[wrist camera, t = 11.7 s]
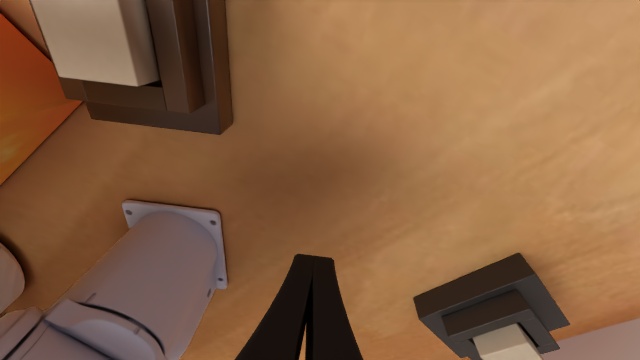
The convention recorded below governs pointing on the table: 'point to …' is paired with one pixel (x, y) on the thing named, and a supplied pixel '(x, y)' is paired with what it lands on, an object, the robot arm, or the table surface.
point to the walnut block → (171, 73)
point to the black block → (491, 307)
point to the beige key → (99, 40)
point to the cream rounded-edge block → (506, 345)
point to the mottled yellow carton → (26, 98)
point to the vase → (9, 278)
